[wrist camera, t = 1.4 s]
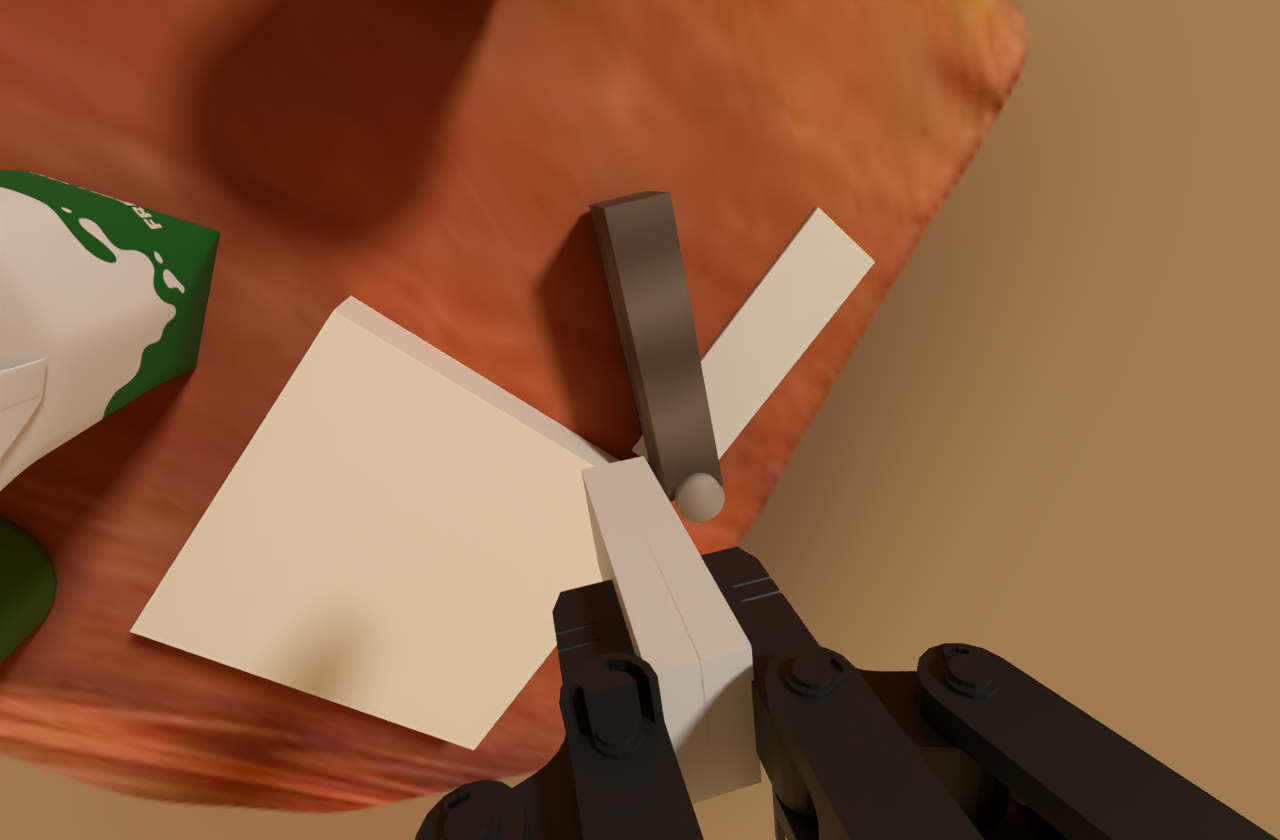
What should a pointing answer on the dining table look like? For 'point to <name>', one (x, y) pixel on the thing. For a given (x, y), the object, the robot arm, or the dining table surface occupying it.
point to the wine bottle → (22, 586)
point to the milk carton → (89, 309)
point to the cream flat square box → (388, 537)
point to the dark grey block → (661, 347)
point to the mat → (777, 324)
